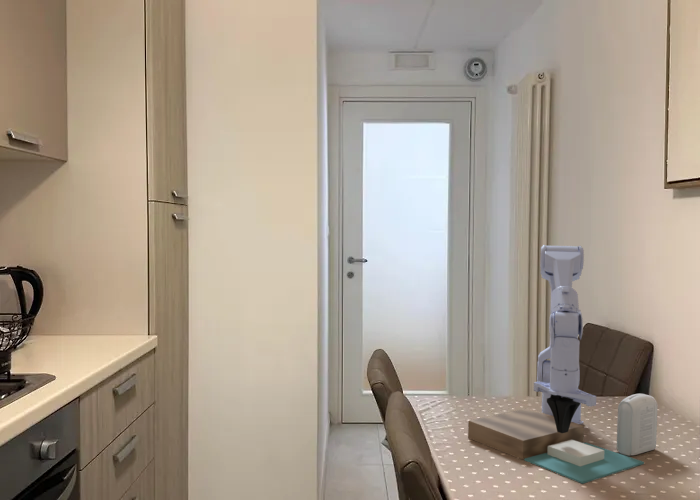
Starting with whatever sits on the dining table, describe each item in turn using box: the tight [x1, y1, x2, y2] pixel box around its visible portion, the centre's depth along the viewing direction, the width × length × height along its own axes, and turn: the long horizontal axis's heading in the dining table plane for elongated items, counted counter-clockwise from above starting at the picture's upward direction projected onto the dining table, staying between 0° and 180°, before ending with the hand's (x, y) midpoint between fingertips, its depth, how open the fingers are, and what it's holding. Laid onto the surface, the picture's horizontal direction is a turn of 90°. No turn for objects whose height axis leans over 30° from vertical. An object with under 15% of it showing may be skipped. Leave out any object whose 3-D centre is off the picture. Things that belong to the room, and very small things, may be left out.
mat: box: [524, 442, 645, 484], centre depth 131 cm, size 20×14×1 cm
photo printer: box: [616, 393, 659, 457], centre depth 138 cm, size 10×4×12 cm, turn 123°
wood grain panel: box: [467, 407, 585, 460], centre depth 144 cm, size 20×16×4 cm
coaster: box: [547, 440, 604, 466], centre depth 133 cm, size 8×8×2 cm
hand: (562, 431), depth 135 cm, fingers closed
